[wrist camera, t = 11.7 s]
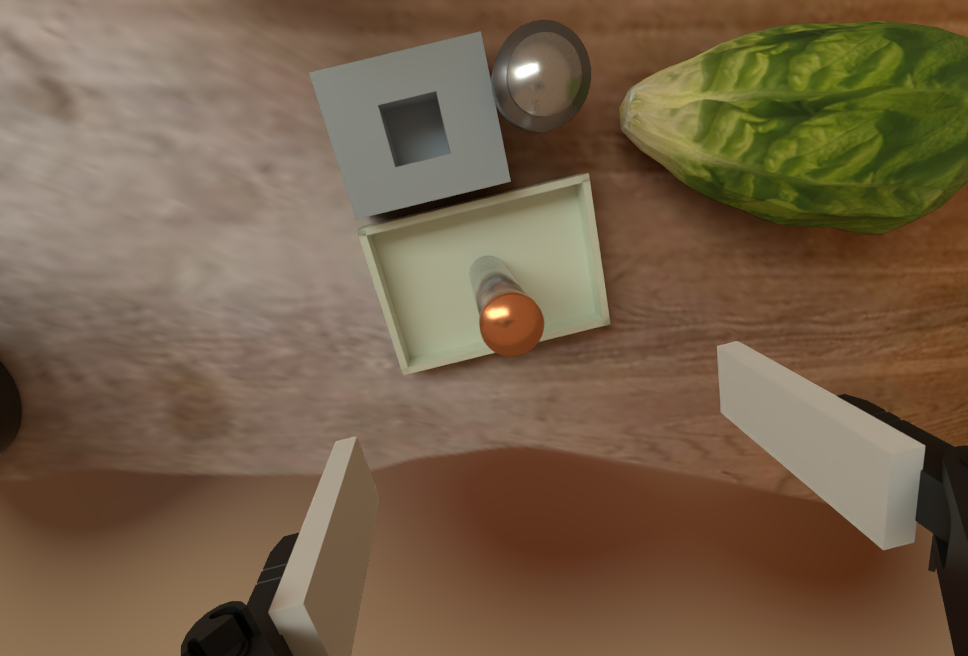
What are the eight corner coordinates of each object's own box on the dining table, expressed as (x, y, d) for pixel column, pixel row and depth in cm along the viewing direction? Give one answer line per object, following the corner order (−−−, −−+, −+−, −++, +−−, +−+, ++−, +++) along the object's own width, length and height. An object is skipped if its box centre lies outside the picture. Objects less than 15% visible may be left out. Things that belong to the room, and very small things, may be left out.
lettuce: (620, 47, 41) (662, -52, 28) (898, 77, 39) (1084, -14, 26) (591, 209, 43) (618, 189, 30) (852, 244, 41) (1001, 239, 28)
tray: (405, 363, 44) (403, 375, 41) (362, 226, 39) (356, 229, 37) (600, 315, 44) (610, 324, 41) (578, 173, 39) (588, 173, 37)
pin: (472, 299, 41) (488, 362, 27) (462, 258, 40) (473, 303, 26) (512, 289, 42) (549, 347, 27) (504, 248, 40) (537, 287, 26)
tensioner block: (366, 214, 39) (355, 219, 34) (326, 86, 36) (309, 72, 31) (502, 180, 39) (510, 181, 34) (475, 50, 36) (480, 31, 31)
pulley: (493, 147, 38) (506, 139, 30) (475, 62, 36) (484, 30, 28) (567, 129, 38) (600, 116, 30) (554, 43, 36) (585, 6, 28)
